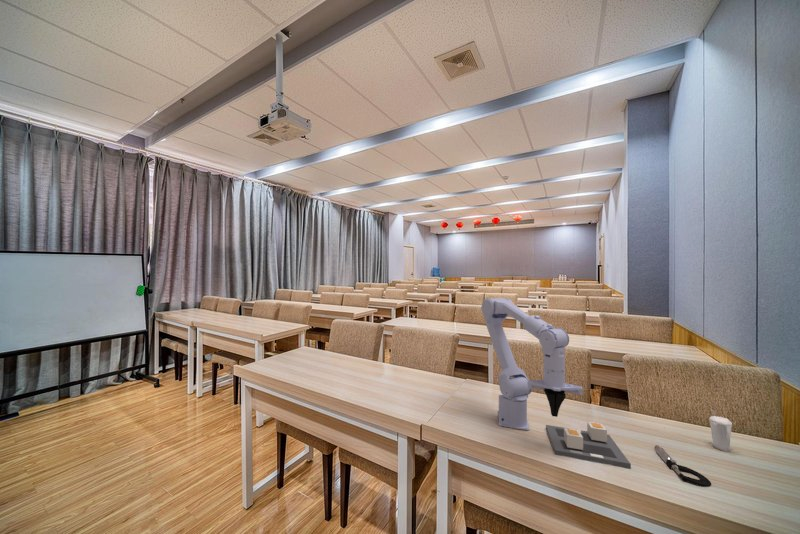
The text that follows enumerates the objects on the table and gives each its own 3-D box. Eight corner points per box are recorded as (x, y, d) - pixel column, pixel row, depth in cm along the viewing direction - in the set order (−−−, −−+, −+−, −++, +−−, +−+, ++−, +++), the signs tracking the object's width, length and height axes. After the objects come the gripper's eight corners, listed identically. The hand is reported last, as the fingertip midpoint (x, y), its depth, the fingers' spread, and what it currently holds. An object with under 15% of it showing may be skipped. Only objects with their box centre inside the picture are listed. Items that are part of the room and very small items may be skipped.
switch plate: (555, 454, 82) (555, 449, 82) (545, 428, 96) (545, 424, 96) (630, 468, 76) (630, 463, 76) (609, 438, 90) (609, 434, 90)
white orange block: (591, 439, 87) (591, 427, 87) (587, 432, 90) (587, 421, 91) (606, 442, 85) (606, 429, 86) (602, 435, 89) (602, 423, 89)
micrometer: (718, 492, 69) (718, 481, 69) (680, 483, 71) (680, 473, 71) (683, 456, 83) (683, 447, 83) (652, 450, 85) (652, 441, 85)
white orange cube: (567, 447, 82) (567, 434, 83) (563, 439, 86) (563, 427, 86) (583, 450, 81) (583, 436, 81) (579, 442, 85) (579, 429, 85)
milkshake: (723, 444, 88) (722, 411, 89) (737, 454, 83) (736, 419, 84) (704, 441, 90) (703, 408, 90) (716, 450, 85) (715, 416, 85)
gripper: (529, 370, 85) (529, 417, 84) (585, 376, 80) (586, 425, 80) (526, 363, 91) (526, 406, 91) (578, 368, 87) (578, 414, 86)
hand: (554, 415), depth 86 cm, fingers closed
